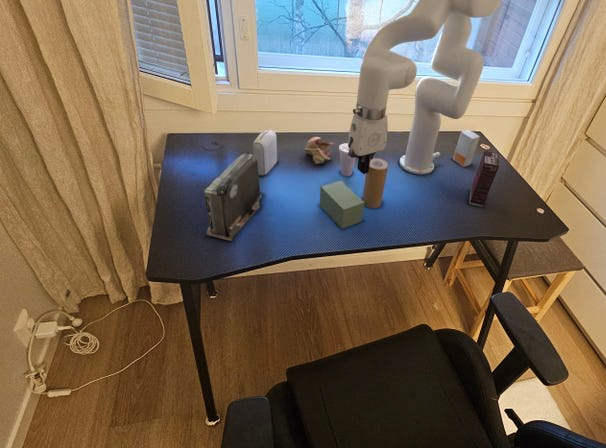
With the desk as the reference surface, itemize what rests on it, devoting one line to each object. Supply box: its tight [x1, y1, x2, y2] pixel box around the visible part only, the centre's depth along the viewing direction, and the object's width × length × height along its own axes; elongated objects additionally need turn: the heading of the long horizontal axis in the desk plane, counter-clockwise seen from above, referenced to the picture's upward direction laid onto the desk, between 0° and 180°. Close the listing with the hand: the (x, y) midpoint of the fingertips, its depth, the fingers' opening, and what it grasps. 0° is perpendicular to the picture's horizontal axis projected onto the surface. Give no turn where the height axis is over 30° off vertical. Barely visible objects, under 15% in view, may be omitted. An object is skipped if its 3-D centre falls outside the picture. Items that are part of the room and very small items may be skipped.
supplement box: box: [468, 150, 500, 208], centre depth 128 cm, size 9×5×16 cm, turn 170°
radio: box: [203, 151, 263, 242], centre depth 105 cm, size 23×9×15 cm, turn 165°
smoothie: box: [338, 142, 357, 177], centre depth 129 cm, size 6×6×14 cm
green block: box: [319, 179, 365, 230], centre depth 114 cm, size 7×12×7 cm, turn 39°
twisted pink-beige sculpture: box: [303, 136, 335, 165], centre depth 135 cm, size 9×10×10 cm
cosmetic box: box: [452, 129, 481, 168], centre depth 146 cm, size 6×4×12 cm
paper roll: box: [361, 157, 389, 209], centre depth 118 cm, size 13×6×15 cm, turn 131°
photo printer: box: [252, 129, 278, 176], centre depth 125 cm, size 10×4×12 cm, turn 169°
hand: (362, 171), depth 112 cm, fingers closed
